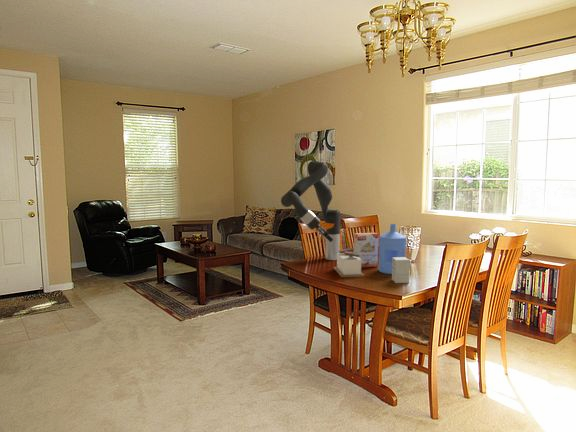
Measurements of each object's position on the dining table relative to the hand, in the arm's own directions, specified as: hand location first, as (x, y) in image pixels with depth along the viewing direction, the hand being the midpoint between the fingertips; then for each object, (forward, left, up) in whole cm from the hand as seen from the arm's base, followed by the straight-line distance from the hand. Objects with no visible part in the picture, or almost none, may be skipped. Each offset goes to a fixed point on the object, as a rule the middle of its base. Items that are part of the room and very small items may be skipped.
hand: (331, 240), depth 237 cm
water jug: (-5, +37, -20) cm, 43 cm away
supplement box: (+17, +34, -20) cm, 43 cm away
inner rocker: (-11, +11, -9) cm, 18 cm away
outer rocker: (0, +11, -9) cm, 14 cm away
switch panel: (-5, +11, -20) cm, 24 cm away
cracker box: (-19, +25, -20) cm, 38 cm away
